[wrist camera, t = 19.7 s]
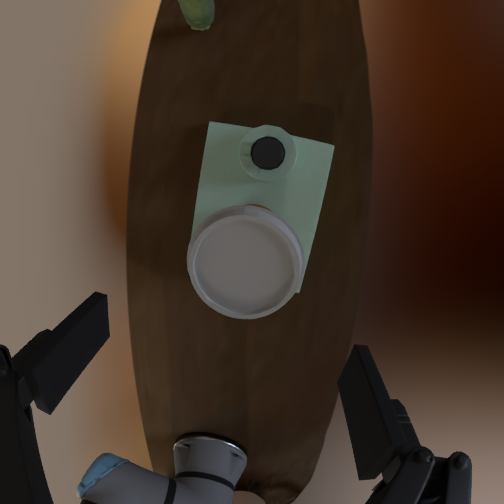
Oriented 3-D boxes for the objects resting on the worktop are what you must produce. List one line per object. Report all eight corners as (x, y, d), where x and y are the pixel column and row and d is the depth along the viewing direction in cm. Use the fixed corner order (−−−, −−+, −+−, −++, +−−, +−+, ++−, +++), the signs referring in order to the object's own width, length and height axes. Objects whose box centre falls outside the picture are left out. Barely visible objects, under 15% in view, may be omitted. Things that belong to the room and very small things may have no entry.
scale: (298, 288, 37) (300, 299, 34) (189, 267, 37) (183, 276, 34) (333, 142, 31) (339, 141, 28) (212, 118, 31) (206, 115, 28)
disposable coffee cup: (196, 215, 34) (160, 246, 22) (269, 174, 32) (268, 184, 20) (237, 282, 36) (223, 339, 25) (308, 247, 34) (326, 293, 23)
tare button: (279, 169, 30) (279, 170, 28) (251, 164, 30) (249, 164, 28) (284, 142, 29) (285, 141, 27) (256, 136, 29) (255, 135, 27)
